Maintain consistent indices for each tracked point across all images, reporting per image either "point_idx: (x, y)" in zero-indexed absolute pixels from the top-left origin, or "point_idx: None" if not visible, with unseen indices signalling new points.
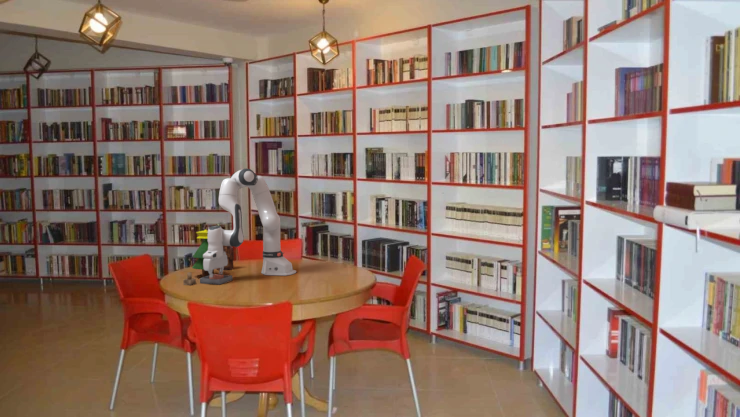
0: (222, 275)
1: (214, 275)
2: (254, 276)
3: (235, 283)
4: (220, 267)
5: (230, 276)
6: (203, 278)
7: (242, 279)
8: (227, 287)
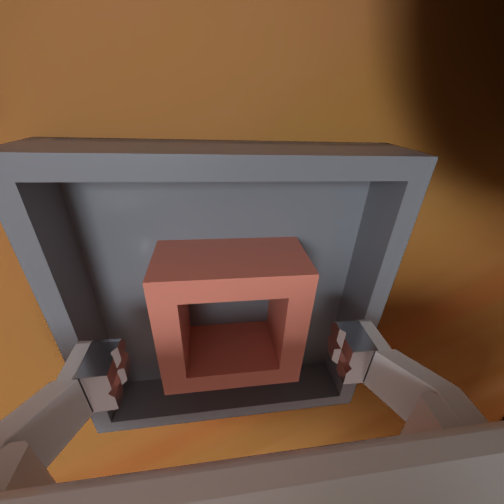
0: (276, 380)
1: (259, 295)
2: (477, 394)
3: (224, 427)
4: (425, 424)
5: (317, 401)
6: (19, 231)
7: (372, 392)
8: (75, 459)
